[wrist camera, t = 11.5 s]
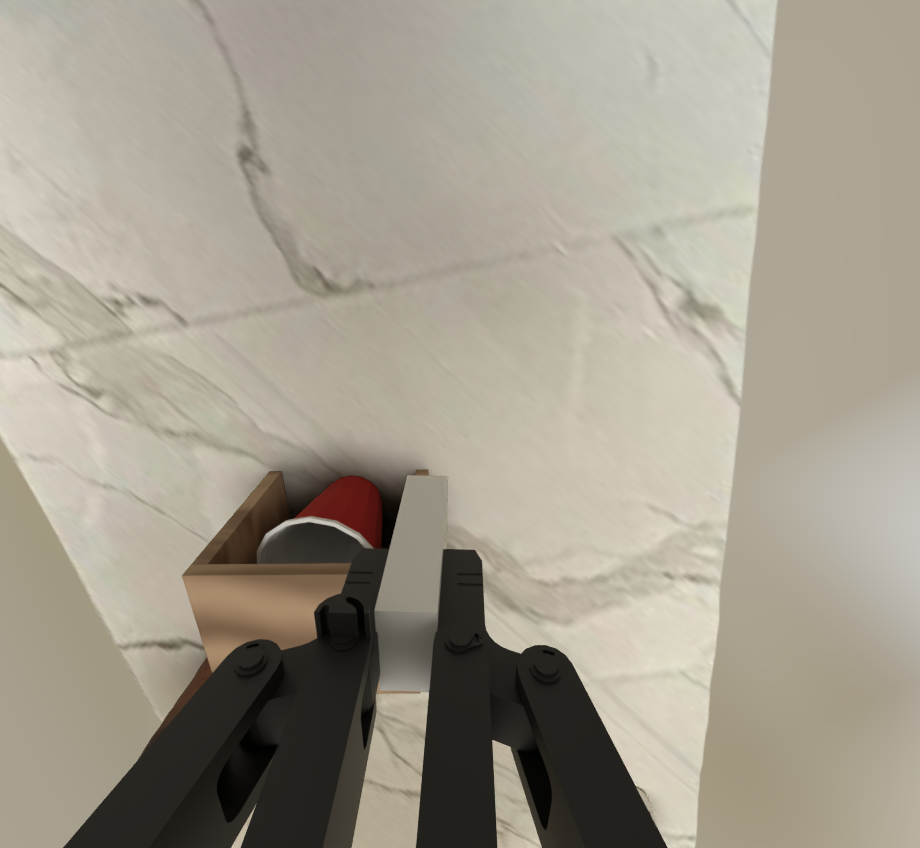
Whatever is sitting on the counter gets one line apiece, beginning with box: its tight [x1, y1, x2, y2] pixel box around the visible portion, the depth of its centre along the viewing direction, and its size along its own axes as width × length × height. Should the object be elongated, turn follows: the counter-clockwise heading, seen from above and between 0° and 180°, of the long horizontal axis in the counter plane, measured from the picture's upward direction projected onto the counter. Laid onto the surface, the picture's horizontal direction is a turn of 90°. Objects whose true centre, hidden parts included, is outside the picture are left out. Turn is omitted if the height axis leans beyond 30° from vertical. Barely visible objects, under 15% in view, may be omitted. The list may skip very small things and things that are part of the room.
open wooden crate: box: [182, 470, 429, 694], centre depth 42 cm, size 12×16×16 cm
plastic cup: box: [257, 476, 382, 564], centre depth 43 cm, size 11×11×12 cm
